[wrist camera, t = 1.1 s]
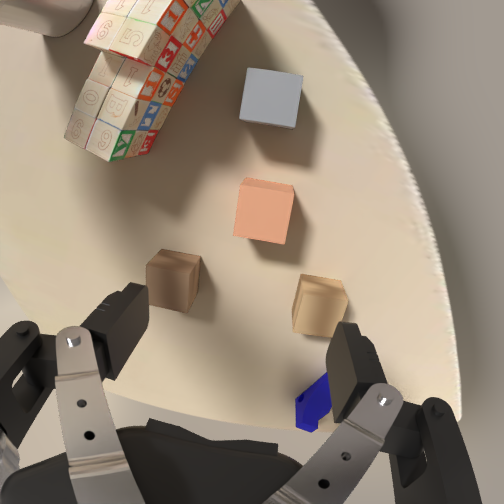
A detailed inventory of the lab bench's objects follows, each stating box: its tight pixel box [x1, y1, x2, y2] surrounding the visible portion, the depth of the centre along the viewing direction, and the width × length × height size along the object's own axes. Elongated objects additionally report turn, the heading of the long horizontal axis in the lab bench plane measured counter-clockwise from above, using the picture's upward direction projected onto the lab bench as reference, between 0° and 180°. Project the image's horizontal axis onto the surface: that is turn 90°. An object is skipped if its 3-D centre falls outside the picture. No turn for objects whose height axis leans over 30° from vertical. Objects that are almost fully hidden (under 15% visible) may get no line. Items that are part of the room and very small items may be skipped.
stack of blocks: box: [64, 0, 241, 162], centre depth 22 cm, size 21×6×12 cm, turn 150°
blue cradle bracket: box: [295, 372, 332, 432], centre depth 39 cm, size 12×4×6 cm, turn 147°
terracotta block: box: [233, 178, 294, 244], centre depth 30 cm, size 5×5×5 cm
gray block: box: [239, 68, 303, 129], centre depth 26 cm, size 5×5×5 cm
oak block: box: [292, 274, 348, 338], centre depth 34 cm, size 5×5×5 cm
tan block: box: [146, 249, 201, 313], centre depth 34 cm, size 5×5×5 cm
